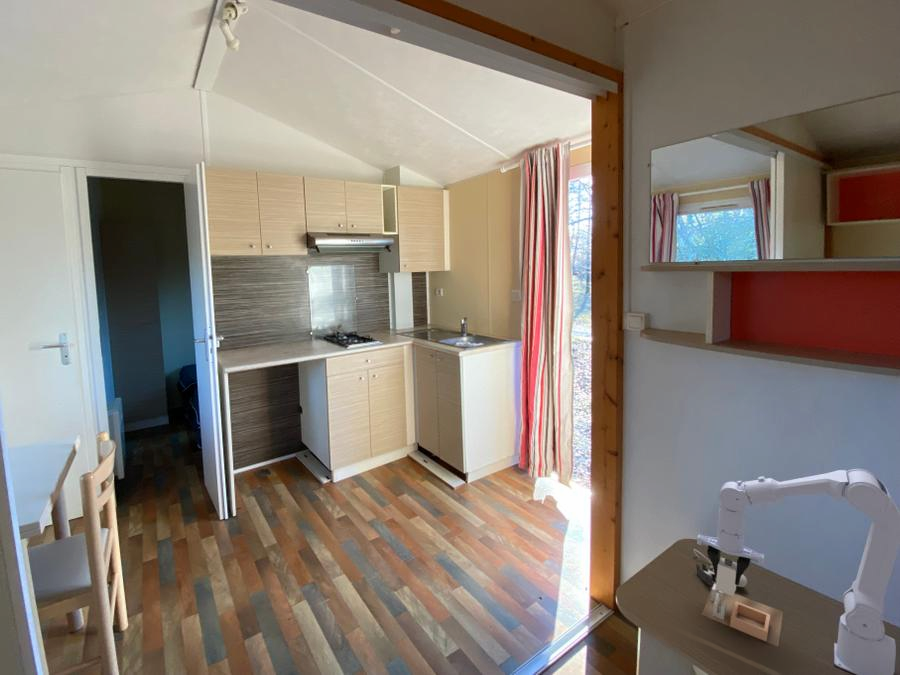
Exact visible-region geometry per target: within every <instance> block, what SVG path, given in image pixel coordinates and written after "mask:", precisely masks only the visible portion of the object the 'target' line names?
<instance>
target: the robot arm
mask: <svg viewBox="0 0 900 675" xmlns="http://www.w3.org/2000/svg"><path fill="white" fill-rule="evenodd" d="M821 494H822V495H823V494H825V495H828V496H829V497H832V498H834V499H836V500H838V501H839V502H843V497H844V498H845V499H846V501H847V502H848V504H850V505H851V506H853V507H854V508H855V509H857V510H859V511H860V512H862V513H863V514H865V515H866V516H867V517H868V518H869V519H870V520H871V524H870V528H869V533H868V535H867V539H866V542H865V543H866V544H865V546H864V549H863V553H862V557H861V560H860V563H859V567H858V571H857V574H856V577H855V580H854V581H853V582H852V583H851V586H850V588H849V589H847V590H846V591H845V592H843V595H842V602H843V603H842V604H843V605H844V613H843V614H842V615H841V616H839V622H838V623H839V625H838V635H837V643H836V642H834V643H833V664H834V666H835V667H838V668H839V669H842V670H845V671H846V672H850V673H851V674H852V673H853V674H855V675H894V674H895V666H896V665H895V664H896V657H897V656H896V654H897V650H896V649H897V648H896V640H895V638H893V637H891V636H889V635H887V634H886V632H885V631H886V629H885V625H884V622H883V616H884V606H885V605H884V603H885V602H884V600H885V596H886V591H887V589H888V588H887V587H888V586H889V582H890V577H891V574H892V571H893V568H894V565H895V562H896V558H897V554H898V551H899V548H900V510H899V508H898V506H897V504H896V503H895V501H894V499H893V497H892V496H891V494H890V492H889V490H888V488H887V487H886V485H885V483H883V481H881V480H880V479H879V478H878V477H877V476H876V475H875V474H873V472H870V471H869V470H866V469H862V468H852V469H849V470H846V469H839V470H834V471H830V472H826V473H822V474H821V473H820V474H815V475H811V476H805V477H801V478H800V477H799V478H795V479H789V480H783V481H778V480H775V479H774V478H772V477H769V478H766V477H765V476H764V475H763V476H759V477H757V479H754V480H748V481H747V480H746V481H743V480H737V481H727V482H725V483H724V484H723V485H722V487H721V488H720V491H719V494H718V500H719V509H718V518H717V520H718V521H717V534H716V537H713V536H708V535H705V534H704V535H703V534H698V535H697V538H696V539H697V540H696V544H697V545H699V546H702V545H703V546H706V547H707V550H706V553H707V554H706V555H707V556H709V558H708V559H709V560H710V561H711V562H712V564H711V566H713V568H712V570H713V569H714V574H715V577H717V569H718V563H719V561H720V558H721V552H722V553H724V554H727V555H730V556H737V557H738V558H737V560H736V563H737V575H736V580H735V584H736V586H737V585H739V582H740V578H741V576H742V574H743V575H744V572H745V571H746V570H747V569H748V568H749V566H750V563H751V562H753V563H754V562H755V563H757V565H760V566H763V565H764V563H765V562H764V561H765V554H764V553H759V552H757V551H755V550H753V549H751V548H749V547H746V546H744V538H745V537H744V536H745V525H746V513H745V510H746V509H745V508H746V507H749V506H750V507H754V506H761V505H771V504H779V503H781V502H782V500H784V498H785V497H796V496H808V495H821Z"/></svg>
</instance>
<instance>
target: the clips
mask: <svg viewBox="0 0 900 675" xmlns="http://www.w3.org/2000/svg"><path fill="white" fill-rule="evenodd" d="M712 587H713V588H711V590H712V595H711V601H713V602H714V609H713V616H715V617H718V618H720V619H722V620H724V618H725V615H726V606H727V601H725V600H723V597H724V593H723V592H721V591H719V593H717V590H716V589H715V588H716V583H713V584H712ZM722 601H723V602H722ZM719 604H722V605H721V608H720V607H719Z"/></svg>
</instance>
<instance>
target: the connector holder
mask: <svg viewBox="0 0 900 675" xmlns="http://www.w3.org/2000/svg"><path fill="white" fill-rule="evenodd" d="M738 613H739V614H742V615H744V616H747V617H749V618H752V619H754V620H757V621H759V622H762V623H764V624H765V626H764V629H763V628H761V627H758V626H756V625H753V624H751V623H749V622H746V621H744V620H741V619H739V618H736V617H737V614H738ZM769 624H770V614H767V613H765V612H762V611H759V610H757V609H754V608H752V607H749V606H747V605H744V604H741V603H739V602H735V605H734V609H733V612H732V615H731V622H730V626H731V627H730V628H732V627H733V628H732V629H734V628H735V629H734V630H737V629H738V630H737V631H739V630H740V631H739V632H741V631H742V633H744V632H745V633H744V634H746V633H747V634H746V635H748V634H750V635H749V636H751V635H752V636H751V637H753V636H754V637H753V638H756V637H757V638H756V639H758V638H759V639H758V640H760V639H761V641H763V640H764V641H763V642H765V641H767V635H768V630H769Z"/></svg>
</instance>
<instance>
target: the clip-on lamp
mask: <svg viewBox="0 0 900 675" xmlns="http://www.w3.org/2000/svg"><path fill="white" fill-rule="evenodd" d="M693 552H694V554H695V556H696V557H697V558H698V559H700V557H699V555H700V556H702V557H703V558H704V559H706V561H708V562H709V563H710V564H711V565H710V566H709V567H710V568H708V567H707V565H706V563H701V566H700V564H697V563H696V564H695V565H696V576H698V578H700V580H702V581H703V582H705V584H707V585H708V586H710V587H713V584H714V583H715V584H716V578H717V577H715V574H714V569H713V565H712V562H711V560H710V558H709V556H708V555H707V556H705V555H704V554H703V553H701V552H700V551H698V549H695V548H693ZM697 553H698V554H699V555H698V554H697ZM711 569H712V570H711ZM747 584H748V579H747V577H746V576H745V575H744V573H743V574H742V576H741V578H740V582H739V585H736V587H739V588H743V587H745V586H747Z"/></svg>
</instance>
